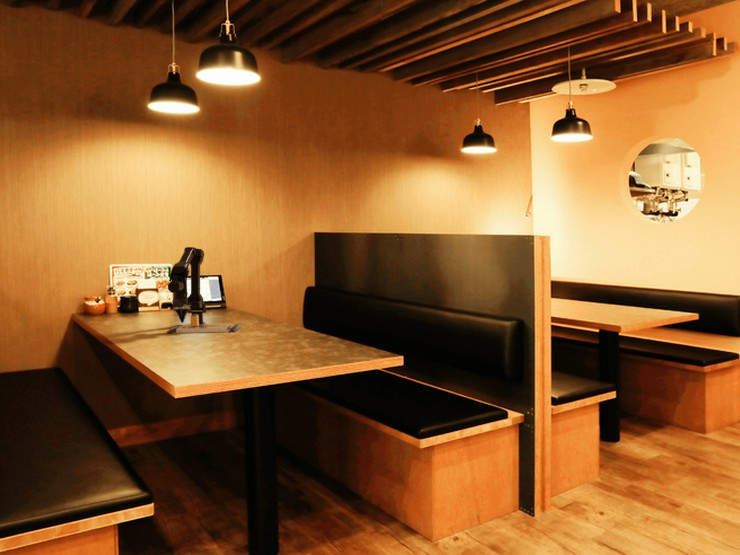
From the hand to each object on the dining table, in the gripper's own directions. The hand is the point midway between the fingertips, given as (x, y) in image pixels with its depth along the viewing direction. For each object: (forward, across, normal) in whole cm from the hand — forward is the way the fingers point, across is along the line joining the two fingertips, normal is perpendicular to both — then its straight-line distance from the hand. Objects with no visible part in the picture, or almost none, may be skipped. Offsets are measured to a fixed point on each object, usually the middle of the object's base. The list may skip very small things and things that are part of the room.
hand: (182, 322), depth 308 cm
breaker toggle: (+2, +6, 0) cm, 6 cm away
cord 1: (+4, -4, 0) cm, 5 cm away
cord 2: (+4, +25, 0) cm, 25 cm away
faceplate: (+4, +11, 0) cm, 12 cm away
